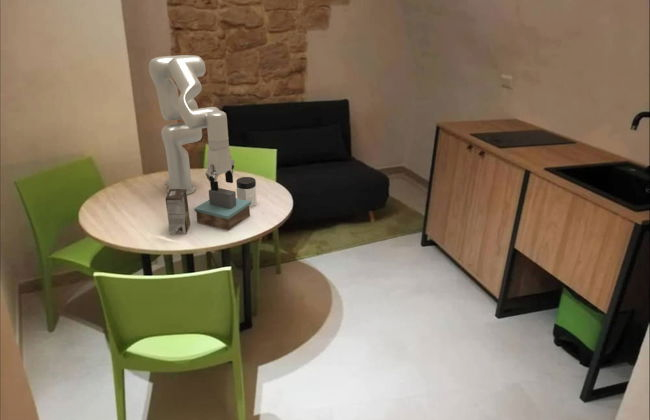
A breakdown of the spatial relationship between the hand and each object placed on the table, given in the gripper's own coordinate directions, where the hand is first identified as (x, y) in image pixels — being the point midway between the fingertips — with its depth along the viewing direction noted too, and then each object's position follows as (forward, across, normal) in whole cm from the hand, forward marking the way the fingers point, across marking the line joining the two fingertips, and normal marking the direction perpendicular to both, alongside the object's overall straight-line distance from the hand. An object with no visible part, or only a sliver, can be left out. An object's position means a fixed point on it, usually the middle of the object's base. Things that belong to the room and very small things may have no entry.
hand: (222, 186), depth 192 cm
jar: (+15, -17, -1) cm, 23 cm away
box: (+15, 0, -1) cm, 15 cm away
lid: (+9, 0, -1) cm, 9 cm away
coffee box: (+16, +15, -10) cm, 24 cm away
